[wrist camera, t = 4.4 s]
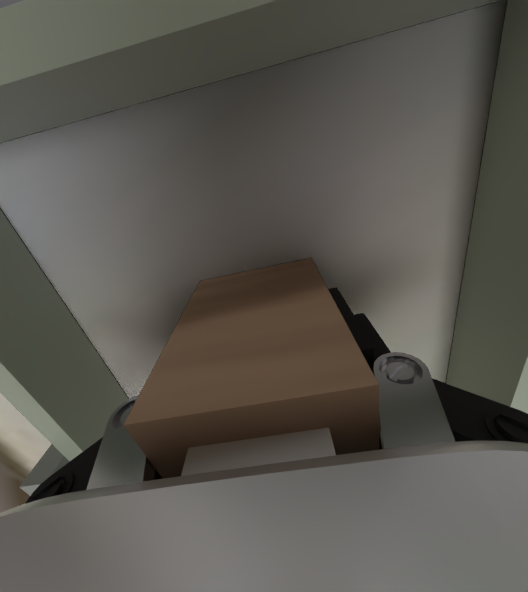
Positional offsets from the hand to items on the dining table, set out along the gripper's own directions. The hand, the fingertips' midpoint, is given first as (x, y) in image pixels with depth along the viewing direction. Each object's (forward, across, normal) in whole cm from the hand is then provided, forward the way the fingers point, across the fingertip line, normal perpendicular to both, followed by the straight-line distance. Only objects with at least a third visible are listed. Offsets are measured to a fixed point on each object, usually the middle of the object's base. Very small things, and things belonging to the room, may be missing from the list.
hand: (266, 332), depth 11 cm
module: (+1, 0, 0) cm, 1 cm away
